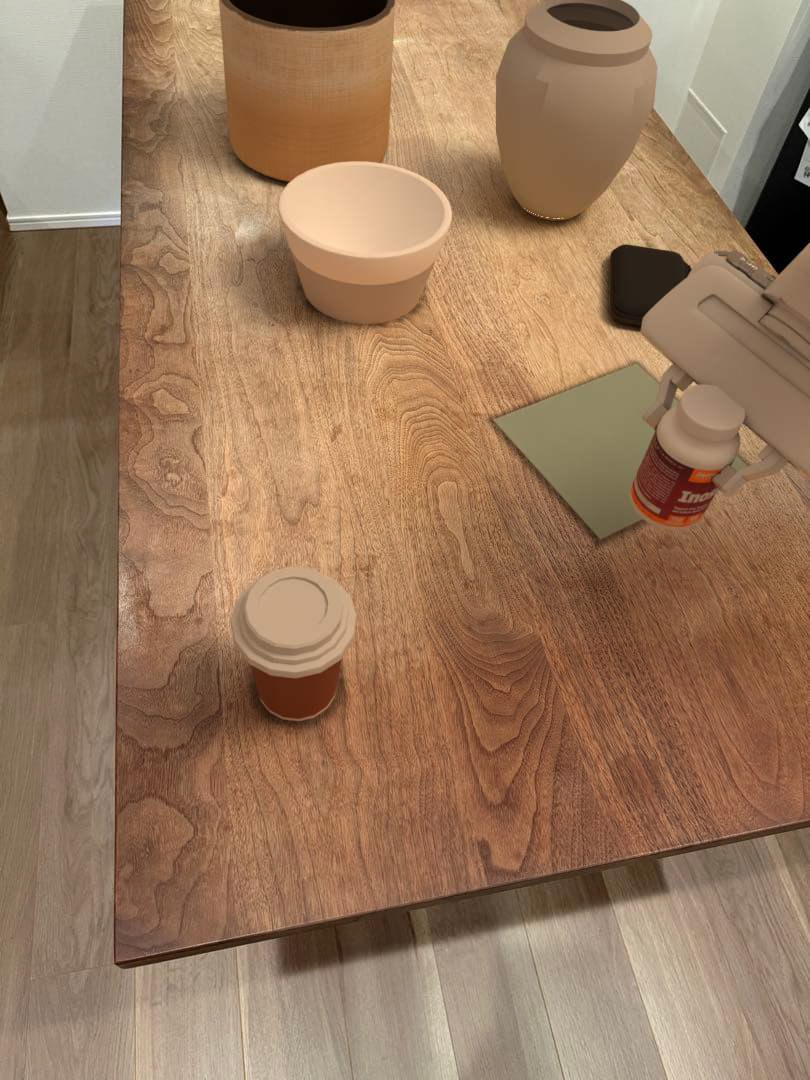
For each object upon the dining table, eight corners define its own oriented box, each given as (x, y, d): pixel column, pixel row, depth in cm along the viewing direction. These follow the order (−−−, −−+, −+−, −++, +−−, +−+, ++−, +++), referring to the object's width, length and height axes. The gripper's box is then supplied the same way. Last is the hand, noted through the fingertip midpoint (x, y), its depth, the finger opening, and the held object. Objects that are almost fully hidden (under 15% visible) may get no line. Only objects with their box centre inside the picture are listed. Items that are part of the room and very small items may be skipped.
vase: (484, 244, 112) (517, 42, 93) (472, 164, 124) (499, -29, 105) (632, 250, 114) (695, 53, 95) (606, 171, 126) (657, -18, 107)
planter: (329, 98, 133) (330, -53, 117) (419, 164, 123) (433, 9, 107) (200, 134, 124) (182, -25, 108) (286, 209, 114) (280, 46, 98)
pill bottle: (667, 546, 69) (717, 450, 60) (612, 496, 72) (652, 397, 63) (718, 512, 71) (773, 415, 63) (663, 465, 74) (708, 366, 66)
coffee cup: (324, 623, 75) (324, 537, 66) (372, 709, 71) (380, 630, 61) (224, 663, 72) (209, 579, 63) (267, 756, 68) (258, 681, 58)
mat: (635, 366, 100) (636, 363, 99) (748, 469, 91) (749, 467, 90) (492, 422, 92) (492, 419, 92) (599, 541, 83) (600, 538, 83)
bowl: (248, 281, 104) (241, 197, 95) (365, 224, 113) (368, 143, 105) (359, 363, 96) (362, 280, 88) (474, 294, 106) (488, 213, 97)
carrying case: (696, 342, 103) (689, 269, 112) (705, 321, 101) (697, 249, 110) (606, 328, 103) (606, 257, 112) (612, 307, 101) (613, 236, 110)
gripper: (711, 220, 65) (581, 363, 69) (943, 386, 55) (775, 542, 59) (730, 255, 70) (608, 386, 74) (945, 413, 60) (791, 554, 64)
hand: (684, 457), depth 67 cm, fingers closed on pill bottle, 6 cm apart
